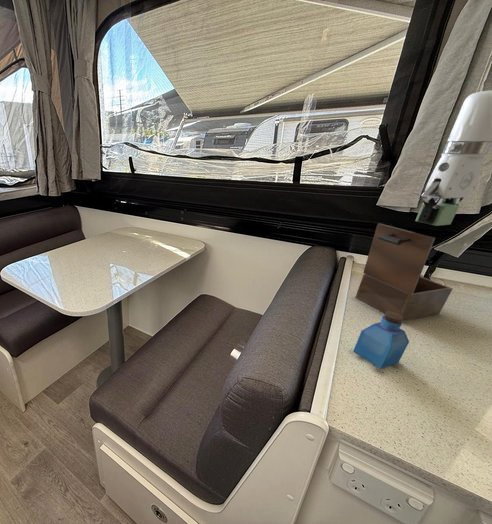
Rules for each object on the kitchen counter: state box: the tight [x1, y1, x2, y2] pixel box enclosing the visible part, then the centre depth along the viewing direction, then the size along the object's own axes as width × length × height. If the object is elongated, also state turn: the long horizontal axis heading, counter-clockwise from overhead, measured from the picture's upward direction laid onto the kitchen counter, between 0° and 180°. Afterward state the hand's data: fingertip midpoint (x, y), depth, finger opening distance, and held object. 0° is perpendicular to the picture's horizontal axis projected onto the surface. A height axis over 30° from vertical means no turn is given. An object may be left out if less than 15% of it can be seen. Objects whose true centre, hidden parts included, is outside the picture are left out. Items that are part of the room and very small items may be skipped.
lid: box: [362, 222, 436, 294], centre depth 76 cm, size 16×14×5 cm
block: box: [414, 202, 460, 227], centre depth 72 cm, size 5×5×5 cm
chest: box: [354, 273, 453, 322], centre depth 83 cm, size 16×14×9 cm
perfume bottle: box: [353, 311, 410, 370], centre depth 62 cm, size 6×6×12 cm
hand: (433, 221), depth 73 cm, fingers closed on block, 5 cm apart
